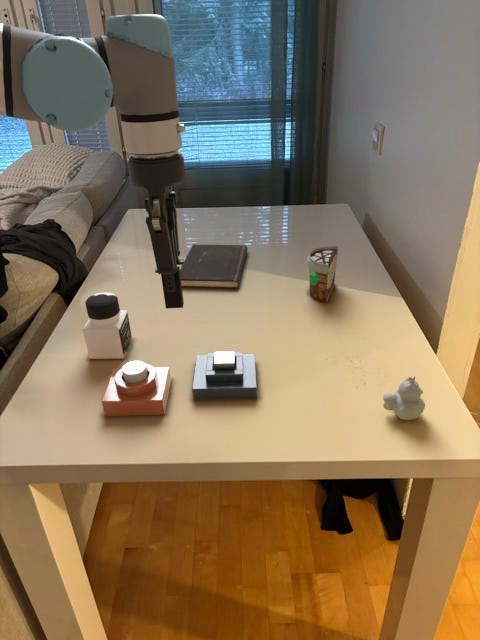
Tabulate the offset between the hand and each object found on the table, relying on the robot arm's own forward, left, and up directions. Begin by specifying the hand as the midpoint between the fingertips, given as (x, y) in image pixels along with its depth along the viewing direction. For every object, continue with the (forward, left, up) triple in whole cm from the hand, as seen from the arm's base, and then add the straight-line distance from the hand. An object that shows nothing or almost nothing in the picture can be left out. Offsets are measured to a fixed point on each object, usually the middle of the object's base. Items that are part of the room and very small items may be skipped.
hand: (174, 305), depth 74 cm
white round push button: (-6, -6, -13) cm, 15 cm away
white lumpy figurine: (+35, +11, -17) cm, 41 cm away
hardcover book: (-23, +45, -17) cm, 54 cm away
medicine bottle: (-21, +3, -17) cm, 27 cm away
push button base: (+5, +5, -17) cm, 19 cm away
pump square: (+5, +5, -14) cm, 16 cm away
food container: (+7, +45, -17) cm, 49 cm away
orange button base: (-6, -6, -17) cm, 19 cm away
